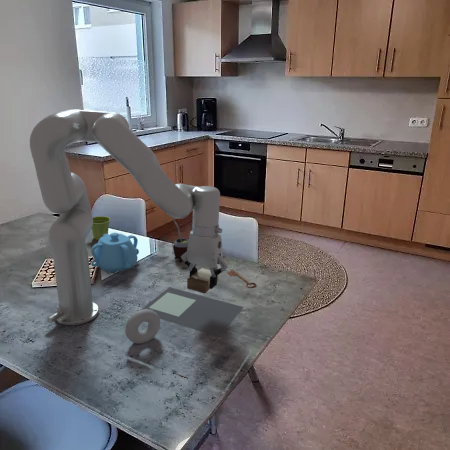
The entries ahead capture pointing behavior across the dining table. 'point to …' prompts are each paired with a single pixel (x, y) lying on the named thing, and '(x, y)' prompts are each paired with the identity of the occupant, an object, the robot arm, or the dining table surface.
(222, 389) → the dining table surface
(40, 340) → the dining table surface
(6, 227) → the dining table surface
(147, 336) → the donut
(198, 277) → the wooden block
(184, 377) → the matchbox
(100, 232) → the plant pot
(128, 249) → the decorative pot
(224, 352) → the dining table surface
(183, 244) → the mate gourd
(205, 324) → the mat
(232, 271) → the key
